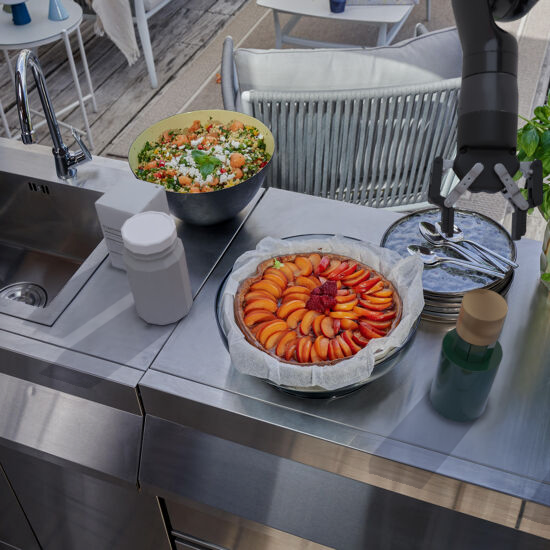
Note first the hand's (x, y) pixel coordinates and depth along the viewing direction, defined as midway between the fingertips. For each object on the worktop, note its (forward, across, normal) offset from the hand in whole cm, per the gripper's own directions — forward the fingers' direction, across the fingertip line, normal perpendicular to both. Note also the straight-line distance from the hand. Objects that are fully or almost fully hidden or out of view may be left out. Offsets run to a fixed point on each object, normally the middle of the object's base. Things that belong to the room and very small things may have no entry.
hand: (482, 239), depth 83 cm
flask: (+23, 0, +12) cm, 26 cm away
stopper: (+14, 0, +3) cm, 15 cm away
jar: (+12, -48, +23) cm, 54 cm away
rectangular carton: (+4, -54, +32) cm, 63 cm away
